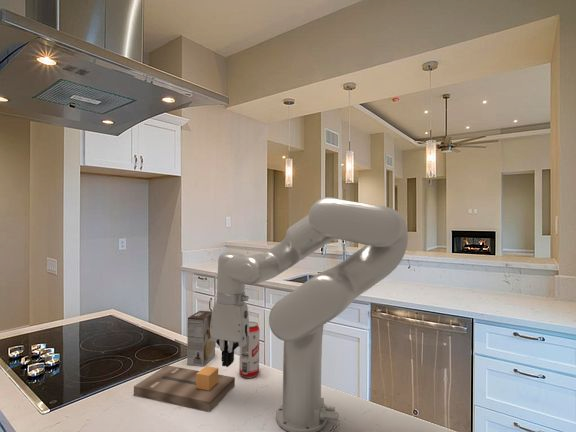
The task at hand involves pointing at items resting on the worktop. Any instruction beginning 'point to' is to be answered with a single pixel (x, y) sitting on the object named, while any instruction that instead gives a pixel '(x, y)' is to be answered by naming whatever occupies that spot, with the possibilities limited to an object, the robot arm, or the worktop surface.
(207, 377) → the block
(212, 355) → the coffee box
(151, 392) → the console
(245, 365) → the beer can
